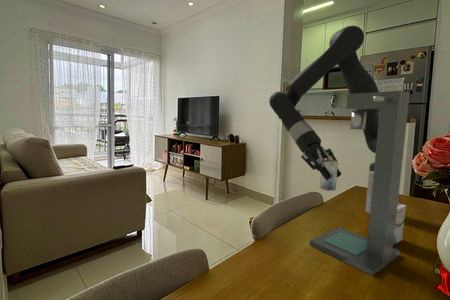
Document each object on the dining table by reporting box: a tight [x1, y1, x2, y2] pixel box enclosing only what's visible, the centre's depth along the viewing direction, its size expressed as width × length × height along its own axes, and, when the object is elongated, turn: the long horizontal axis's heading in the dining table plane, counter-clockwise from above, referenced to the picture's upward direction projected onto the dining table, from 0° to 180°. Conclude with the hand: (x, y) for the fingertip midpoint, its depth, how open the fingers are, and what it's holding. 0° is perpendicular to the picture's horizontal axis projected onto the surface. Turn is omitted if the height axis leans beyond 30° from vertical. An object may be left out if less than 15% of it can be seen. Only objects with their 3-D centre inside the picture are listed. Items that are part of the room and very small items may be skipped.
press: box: [309, 90, 411, 277], centre depth 69 cm, size 18×18×45 cm
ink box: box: [393, 202, 407, 246], centre depth 77 cm, size 8×5×15 cm, turn 123°
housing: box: [319, 156, 339, 192], centre depth 79 cm, size 5×5×10 cm
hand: (334, 177), depth 78 cm, fingers closed on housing, 4 cm apart
